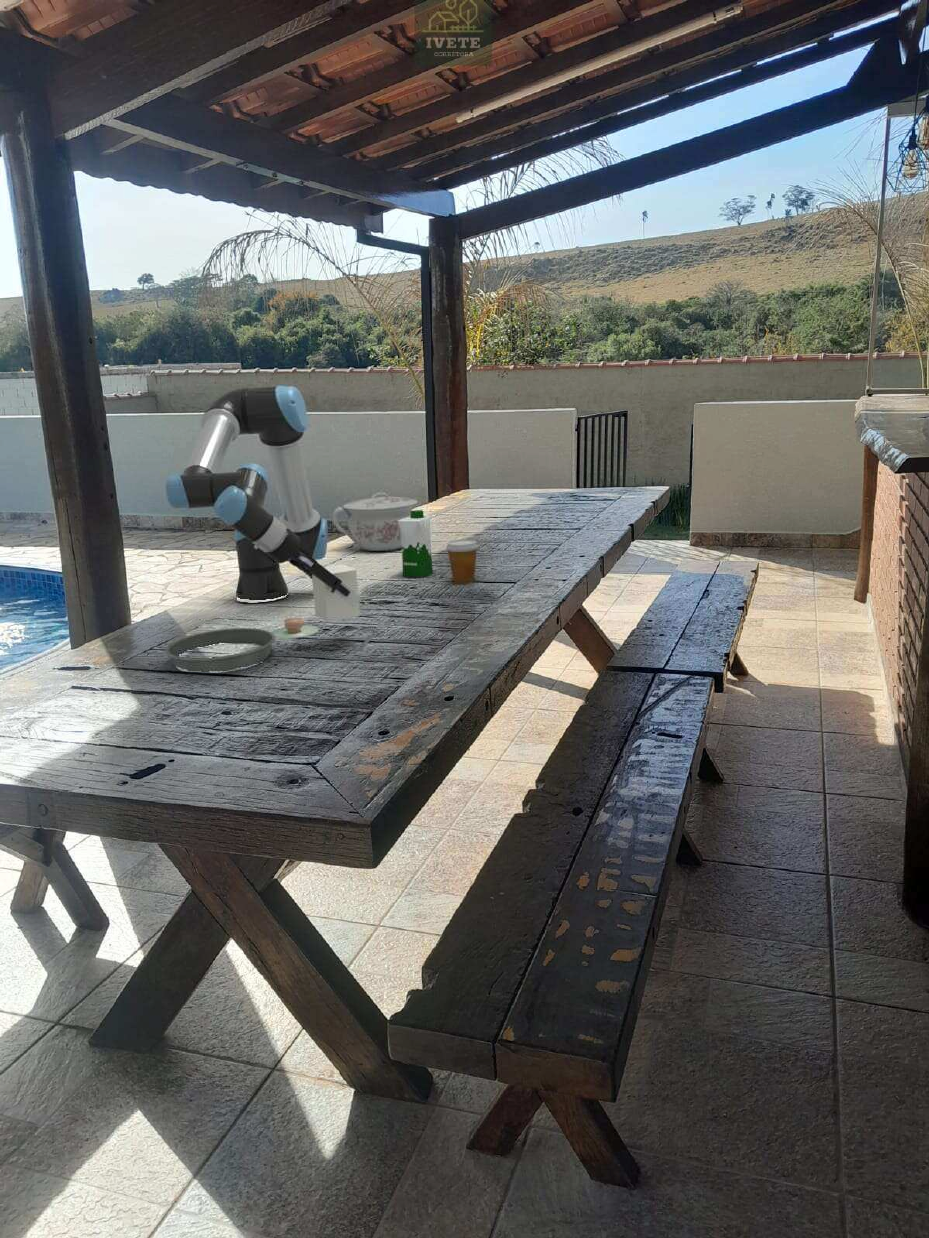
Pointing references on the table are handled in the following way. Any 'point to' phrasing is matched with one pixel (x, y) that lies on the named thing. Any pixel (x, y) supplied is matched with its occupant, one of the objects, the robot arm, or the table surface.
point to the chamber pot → (375, 521)
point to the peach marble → (293, 625)
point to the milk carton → (416, 545)
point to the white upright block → (335, 595)
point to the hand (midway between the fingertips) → (349, 598)
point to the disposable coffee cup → (462, 560)
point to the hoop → (215, 638)
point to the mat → (365, 642)
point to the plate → (305, 631)
